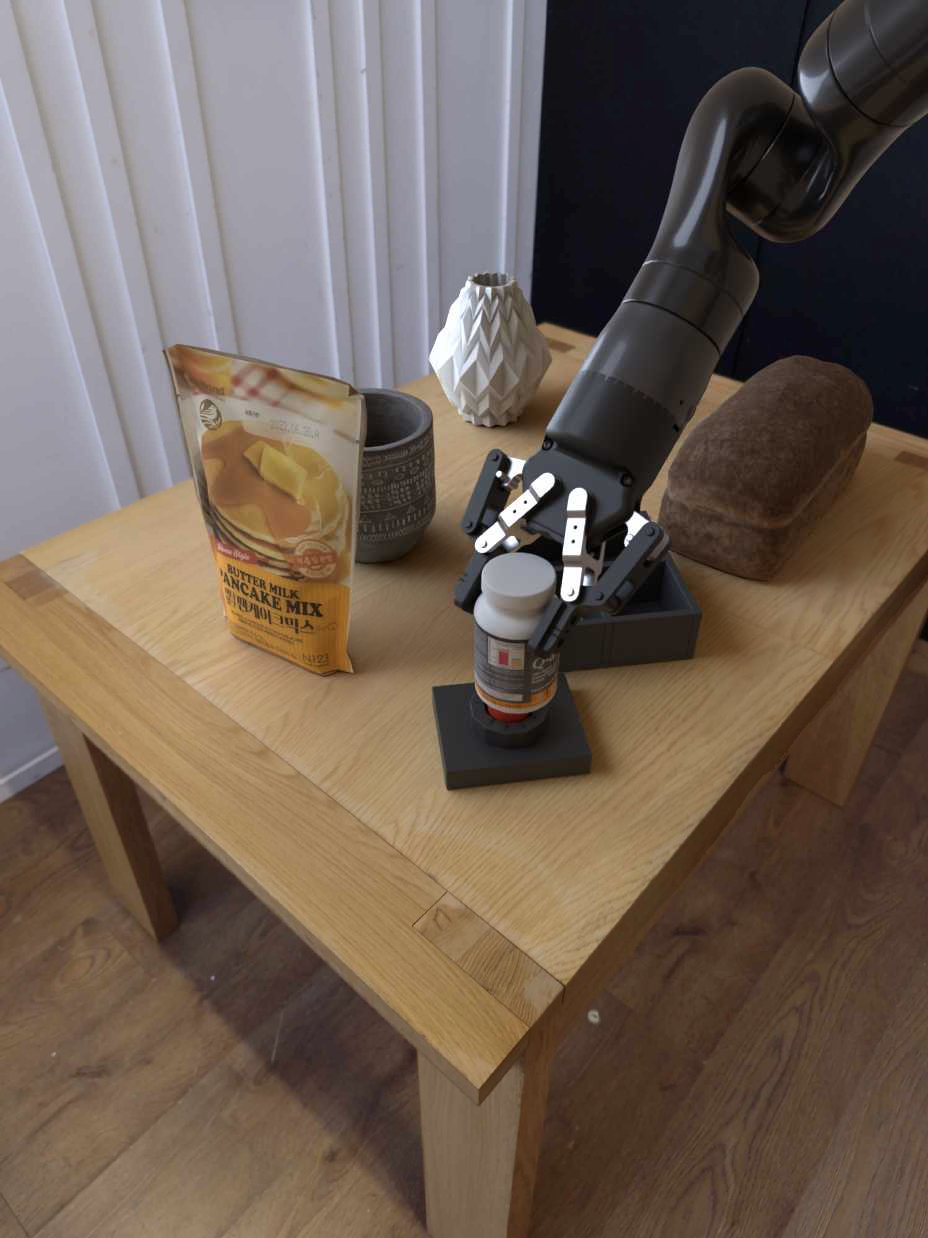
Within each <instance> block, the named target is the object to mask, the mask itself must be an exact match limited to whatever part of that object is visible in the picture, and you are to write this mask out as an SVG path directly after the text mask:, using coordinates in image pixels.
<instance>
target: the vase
mask: <svg viewBox="0 0 928 1238" xmlns="http://www.w3.org/2000/svg"><path fill="white" fill-rule="evenodd" d="M428 360H429V361H428V362H430V364H431V366H432V369H433V370H434V372H435V375H436V376H437V379H438V380H439V383H440V385H441V388H442V390H443V392H444V393H445V395H446V397H447V399H448V401H449V403H450V404H451V405H452V406H454V407H456V408H457V413H458V415H461V416H462V420H463V421H464V422H465V421H466V422H471V423H472V424H473V425H474V426H481V425H484V426H486V427H488V428H491V427H494V426H495V425H498V426H503V427H505V426H507V424H508V423H509V422H510V423H511V422H517V420H518V417H520V416H522V414H523V411H524V408H526V407H528V406H529V404H530V403H531V401H532V399H533V398H534V396H535V394H536V393H537V391H538V390H539V387H540V385H541V383H542V380H543V379H544V377H545V375H546V373H547V371H548V370H549V368H550V366H551V365H552V363H553V357H552V354H551V351H550V348H549V345H548V342H547V340H546V337H545V334H544V333H543V332H542V331H541V330H540V329H539V327H538V326H537V323H536V319H535V314H534V311H533V306H532V305H531V304H530V303H529V302H528V300H527V299H526V298H525V296H524V292H523V290H522V289H521V288H520V287H519V286H518V281H517V278H516V276H515V275H512V276H511V275H510V274H509V272H506V273H505V272H504V273H501V271H498V270H496V271H494V272H491V271H488V270H486V271H484V272H483V273H480V272H475V273H474V275H468V277H467V280H466V281H465V285H464V286H463V287H462V288H461V289H460V292H459V296H458V297H457V298H456V299H455V301H454V302H453V303H452V304H451V306H450V308H449V312H448V314H447V319H446V322H445V326H444V327H443V328H442V329H441V330H440V332H439V333H438V335H437V337H436V340H435V342H434V344H433V346H432V349H431V352H430V354H429V357H428Z"/></svg>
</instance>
